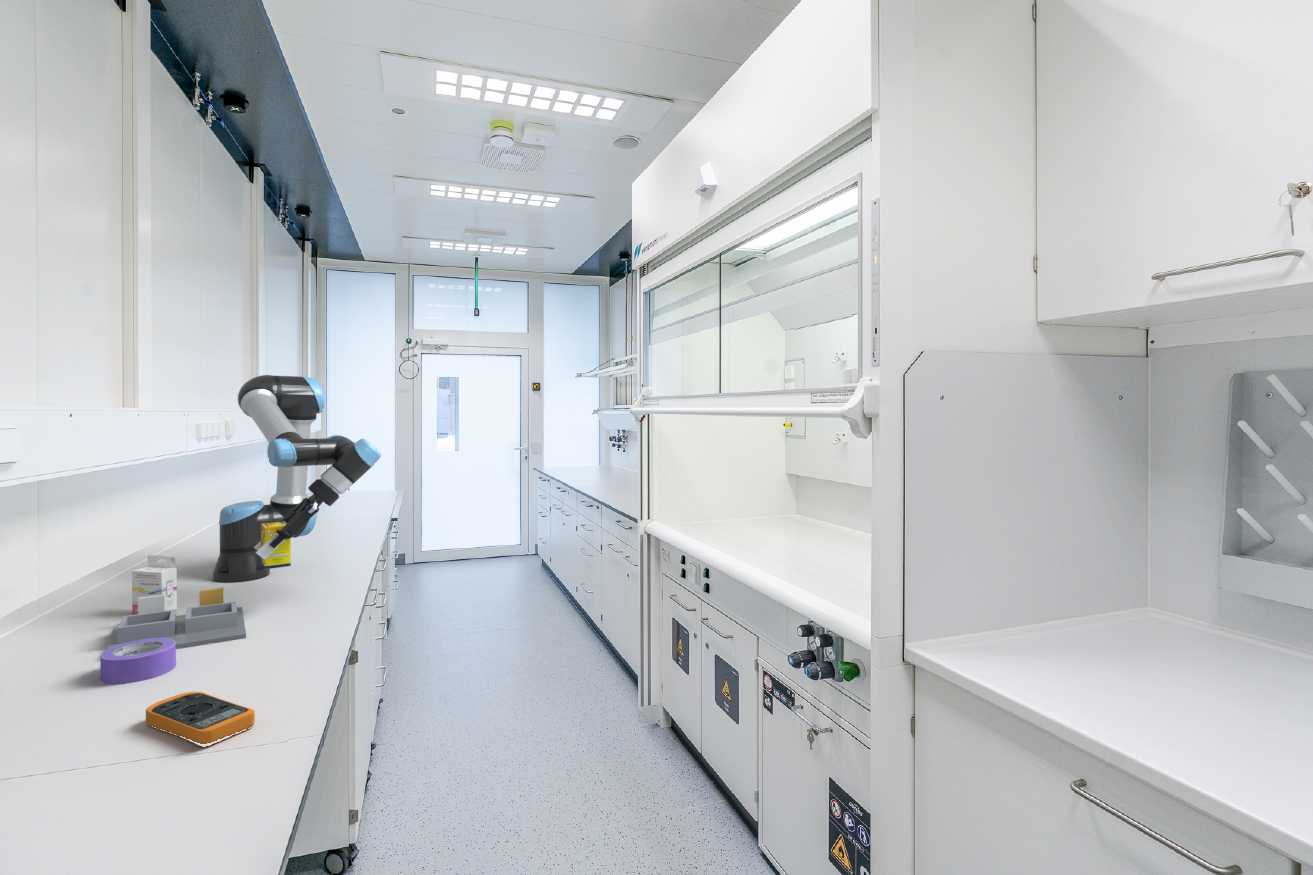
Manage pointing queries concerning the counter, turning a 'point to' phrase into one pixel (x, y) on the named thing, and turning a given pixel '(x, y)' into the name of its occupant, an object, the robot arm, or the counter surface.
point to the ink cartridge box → (156, 581)
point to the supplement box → (282, 553)
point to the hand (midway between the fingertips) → (259, 553)
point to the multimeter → (199, 717)
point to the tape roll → (138, 660)
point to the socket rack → (183, 622)
